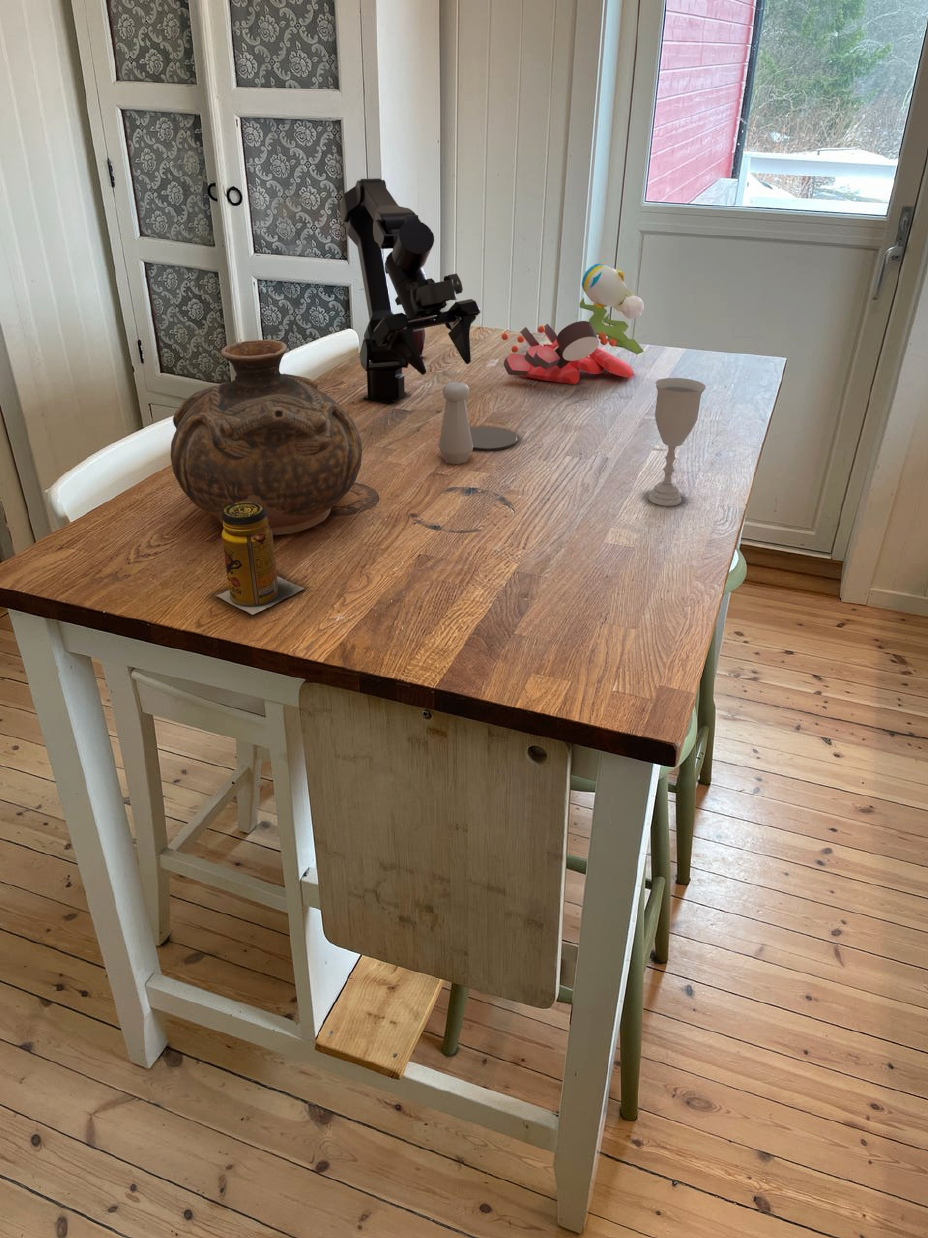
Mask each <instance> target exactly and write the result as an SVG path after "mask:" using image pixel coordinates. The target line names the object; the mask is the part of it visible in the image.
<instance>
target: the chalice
mask: <svg viewBox="0 0 928 1238" xmlns="http://www.w3.org/2000/svg"><path fill="white" fill-rule="evenodd" d="M654 384H655V387H656V391H657V395H656V403H655V411H654V419H655V423H656V429H657V430H658V433H659V436H660V439H661V442H662V444H664V445H665V446H667V450H668V451H667V454H666V456H665V457H664V459H665V462H666V463H665V466H664V467H663V468H662V471H664V478H663V480H662V481H660V482H658V483H656V484H655V485H654V488H653V489H652V490H651V493H650V494H649V495H648V500H649V501H650V502H652V503H653V504H656V505H659V506H666V507H667V506H668V507H669V506H677V505H679V504H681V503H682V501H683V500H682V497H681V493H680V491H679V487H678V486H677V485H676V484H675V483H674V482H673V481H672V476H673V473H674V472H675V471H676V470H675V468H674V462H675V461H676V460H677V457H676V453H675V450H676V448H677V447H680V446H682V445H683V444H684V442H685V441H686V440H687V438H688V437H689V435H690V434H691V432H693V429H694V428H695V425H696V423H697V421H698V419H699V418H698V417H699V411H700V404H701V397H702V394H703V392H704V391H705V390H706V389H707V385H706V384H704V383H703V382H701V381H698V380H695V379H691V378H683V377H665V378H660V379H658V380H656V381H655V382H654Z"/></svg>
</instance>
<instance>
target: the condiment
mask: <svg viewBox="0 0 928 1238" xmlns="http://www.w3.org/2000/svg"><path fill="white" fill-rule="evenodd" d="M266 514H267V510H266V509H265V507H264V506H263V505H261V504H259V503H256V502H238V503H234V504H231V505H229V506H227V507H226V508H225V509H224V510H223V511H222V518H223V524H222V527H223V530H222V532H221V541H222V542H221V543H222V547H223V556H224V562H225V569H226V570H225V571H226V577H227V585H228V590H226V591H223V592H222V593H219V594H215V596H216V597H217V598H219V599H221V600H223V601H225V602H226V603H228V604H230V605H232V606H234V607H236V608H238V609H240V610H242V611H245V612H247V613H248V614H250V615H252V616H253V615H256V614H258V613H259V612H262V611H264V610H266V609H268V608H271V607H273V606H274V605H276V604H278V603H279V602H282V601H283V600H284V599H287V598H290V597H292V596H294V595H296V594H297V593H298V592H300V591H303V590H305V589H306V588H305V587H304V586H300V585H297V584H296V583H293V582H290V581H288V580H286V579H283V578H282V577H280V576H279V575H278V574H277V573H278V572H277V563H276V556H275V555H276V554H275V546H274V535H272V529H271V527H270V526H269V525H268V519H267V515H266Z"/></svg>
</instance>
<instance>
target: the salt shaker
mask: <svg viewBox="0 0 928 1238" xmlns="http://www.w3.org/2000/svg"><path fill="white" fill-rule="evenodd" d="M442 395H443V398H444V400H445V406H444V411H443V416H442V421H441V422H442V423H441V428H440V434H439V440H438V450H439V452H440V455H441V456H442V459H443V460H444V462H446V464H452V465H460V464H465V463H467V461H468V459H469V457H470V455H471V454H472V452H473V442H472V437H471V432H470V428H471V426H470V421H469V415H468V409H467V403H466V400H468V399H469V398H470V388H469V386H468V385H467V383H465V382H460V381H452V382H451V381H450V382H447V383H446V384H444V386H443V387H442Z"/></svg>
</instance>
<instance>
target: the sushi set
mask: <svg viewBox="0 0 928 1238" xmlns="http://www.w3.org/2000/svg"><path fill="white" fill-rule="evenodd" d="M584 272H585V273H584V275H583V277H582V281H581V288H582V290H583V292H584V293H585V295H586V296H587V298H588V299H589V300H590V301H591V302H593V304H587V303H586V302H585V297H582V299H581V300H580V302H579V308H580V309H583V310H587V311H591V312H593V314H592V315H591V316H590V318H589V319H588V320H578V321H575V322H572V323H569V324H568V325H566V326H565V327H564V328H562V329H561V330H560V331H559V332H558V334H557V333H556V331H554V329H553V328H552V327H551V326H550V324H549V323H546V324H545V325H539V326H538V327H537V332H538V333H539V334H543V333H544V335H545V336H546V338H547V339H548V341H549V342H550V343H546V344H545V343H544V344H543V345H542V344H540V343H539V341H538V340H537V339H536V337H535V336H534V335H533V333H532V332H530V330H529V329H528V328H527V327H526V326H525V327H523V328H522V329H521V330H520V331H519V333H520V334H521V335H518V337H517V340H516V341H517V342H518V344H519V343H520V344H522V343H523V342H526V343H527V345H528V346H529V347H528V349H527V350H526V352H525V354H521V353H517V352H519V347H518V345H512V346H511V349H510V351H511V352H512V353H510V354H509V355H507V356H506V358H505V359H504V360H503V367H504V369H505V371H506V373H507V375H509V376H521V377H526V378H531V379H535V380H539V381H546V382H554V383H561V384H562V383H563V384H570V385H576V384H577V383H578V382H579V381H580V374H581V371H583V372H585V373H587V374H594V375H599V374H602V373H604V371H605V370H606V371H607V372H609V373H610V374H613V375H616V376H620V377H624V378H631V377H634V376H635V373H634V370H633V368H632V366H630V365H629V364H628V363H627V362H625V361H623V360H622V359H620V358H618V357H616V356H615V355H614V354H611V353H609V352H608V351H605V350H604V349H602V348H600V347H599V345H600V344H601V345H602V346H607V344H608V345H609V346H611V347H612V348H613V347H616V348H622V349H625V350H627V351H629V352H631V353H633V354H635V355H639V354H642V353H644V352H645V351H644V349H643V348H642V346H640V345H639V343H638V342H637V341H636V340H635V339H632V338H628V336H627V335H626V334H625V332H626V331H627V330H628V329H629V325H628V323H627V322H626V321H624V320H614V319H610V318H609V317H610V313H607V312H608V310H607V309H606V307H610V308H613V309H614V310H616V311H617V312H620V313H622V315H623V316H624V317H625V318H627V319H629V320H635V319H637V318H639V317H641V316H642V314H643V313H644V311H645V304H644V301H643V299H642V298H641V297H639V296H637V295H634V293H633V292H632V291H631V290H630V289H628V288H627V285H626V283H625V277H624V276H625V275H624V273H623V271H621V270H620V269H616V268H614V267H612V266H609V265H607V264H603V263H595V264H593V265H592V266H590V267H589V268H588V269H587V270H584ZM597 335H598V336H597ZM501 339H502V340H503V341H507V340H508V339H509V334H508V333H507V332H503V333H502V334H501ZM599 340H600V341H599Z"/></svg>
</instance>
